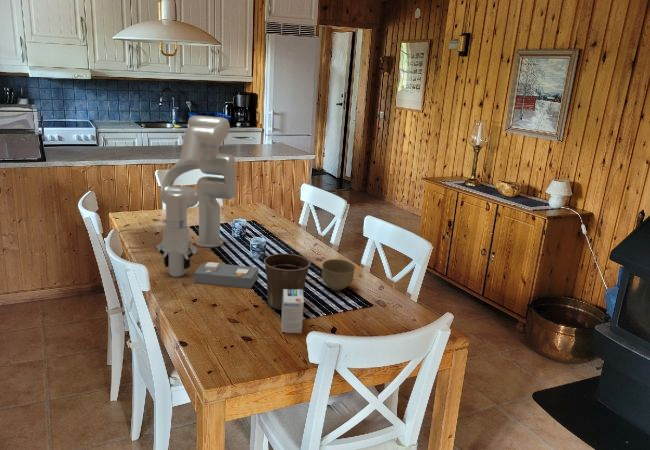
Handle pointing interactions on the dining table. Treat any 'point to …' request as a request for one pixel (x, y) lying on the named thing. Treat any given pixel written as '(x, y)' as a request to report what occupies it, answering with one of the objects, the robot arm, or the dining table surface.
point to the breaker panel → (226, 276)
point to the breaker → (212, 266)
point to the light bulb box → (292, 311)
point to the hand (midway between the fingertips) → (177, 266)
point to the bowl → (337, 273)
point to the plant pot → (284, 276)
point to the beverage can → (176, 264)
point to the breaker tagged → (242, 271)
